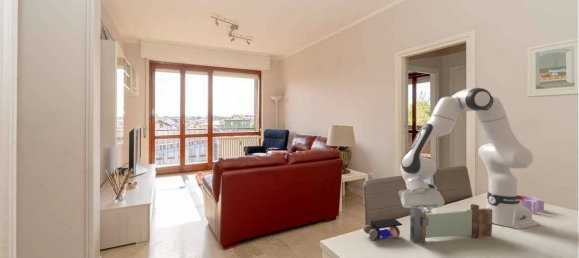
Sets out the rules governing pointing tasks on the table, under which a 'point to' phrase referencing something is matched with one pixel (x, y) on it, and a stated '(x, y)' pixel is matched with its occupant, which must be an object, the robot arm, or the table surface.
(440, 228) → the gate
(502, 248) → the table surface
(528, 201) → the clip
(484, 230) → the wooden hinge block
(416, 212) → the latch post
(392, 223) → the figurine character
